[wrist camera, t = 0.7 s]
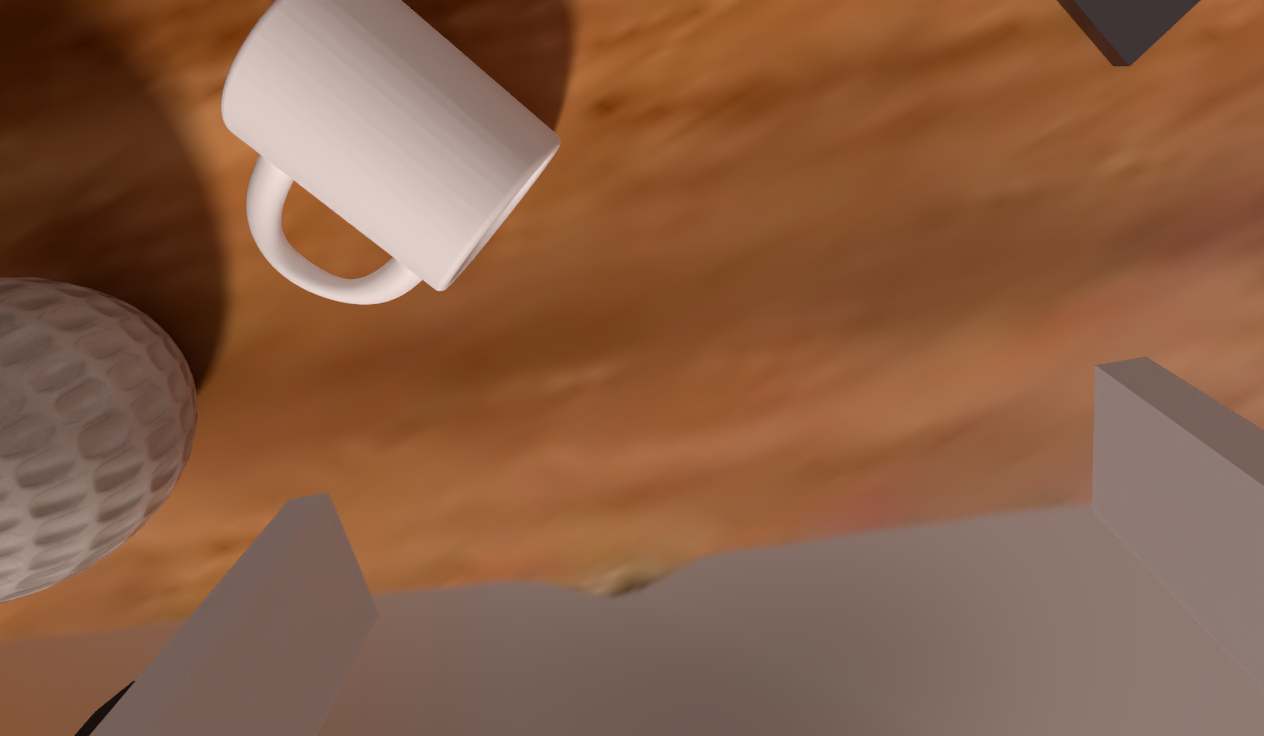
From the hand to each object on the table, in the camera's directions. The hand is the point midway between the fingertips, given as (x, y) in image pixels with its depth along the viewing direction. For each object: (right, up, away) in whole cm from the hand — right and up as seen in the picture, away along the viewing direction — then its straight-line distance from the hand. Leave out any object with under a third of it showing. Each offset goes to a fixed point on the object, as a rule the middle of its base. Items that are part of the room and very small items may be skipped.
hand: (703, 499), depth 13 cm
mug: (-11, +12, +21) cm, 27 cm away
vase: (-27, +2, +26) cm, 37 cm away
